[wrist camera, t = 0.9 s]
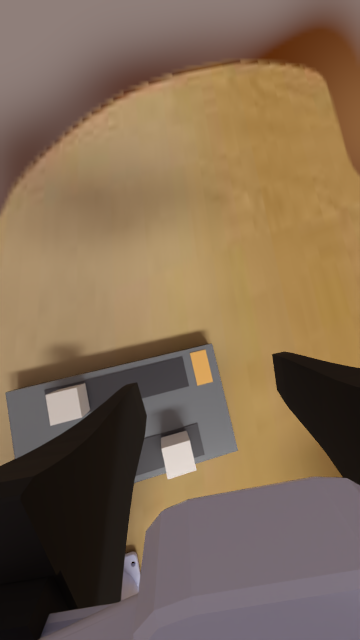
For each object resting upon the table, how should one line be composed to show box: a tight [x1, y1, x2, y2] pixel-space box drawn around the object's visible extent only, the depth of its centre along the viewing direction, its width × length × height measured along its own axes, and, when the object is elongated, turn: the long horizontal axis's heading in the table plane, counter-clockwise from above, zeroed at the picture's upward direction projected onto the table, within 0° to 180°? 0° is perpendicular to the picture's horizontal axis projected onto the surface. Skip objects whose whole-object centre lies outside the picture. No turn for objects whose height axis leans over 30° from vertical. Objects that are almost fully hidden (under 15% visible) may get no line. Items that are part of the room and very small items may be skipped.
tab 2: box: [161, 431, 196, 479], centre depth 23 cm, size 3×3×3 cm
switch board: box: [6, 344, 238, 483], centre depth 25 cm, size 13×24×2 cm, turn 103°
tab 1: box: [45, 383, 90, 426], centre depth 22 cm, size 3×3×3 cm
